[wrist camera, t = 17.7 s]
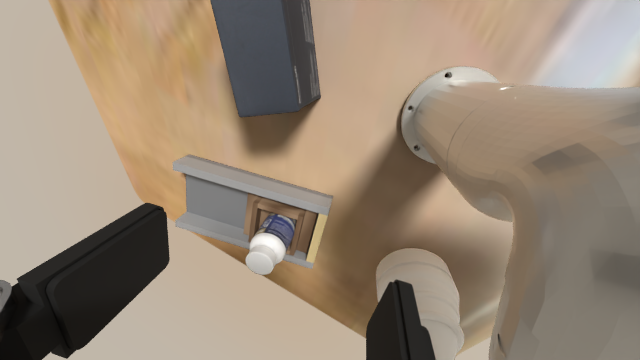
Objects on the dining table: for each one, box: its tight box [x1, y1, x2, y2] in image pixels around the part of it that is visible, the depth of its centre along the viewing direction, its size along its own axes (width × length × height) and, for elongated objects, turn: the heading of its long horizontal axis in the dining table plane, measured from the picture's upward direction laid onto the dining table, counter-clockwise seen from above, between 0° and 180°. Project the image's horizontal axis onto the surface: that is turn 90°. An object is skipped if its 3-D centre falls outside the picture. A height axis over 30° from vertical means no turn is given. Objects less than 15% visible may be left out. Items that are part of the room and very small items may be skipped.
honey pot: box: [376, 248, 464, 360], centre depth 36 cm, size 13×13×18 cm
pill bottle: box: [246, 212, 296, 275], centre depth 36 cm, size 5×5×10 cm
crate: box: [243, 192, 318, 256], centre depth 41 cm, size 12×9×4 cm
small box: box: [210, 0, 321, 117], centre depth 27 cm, size 13×7×12 cm, turn 7°
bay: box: [173, 154, 333, 269], centre depth 42 cm, size 26×13×4 cm, turn 77°
